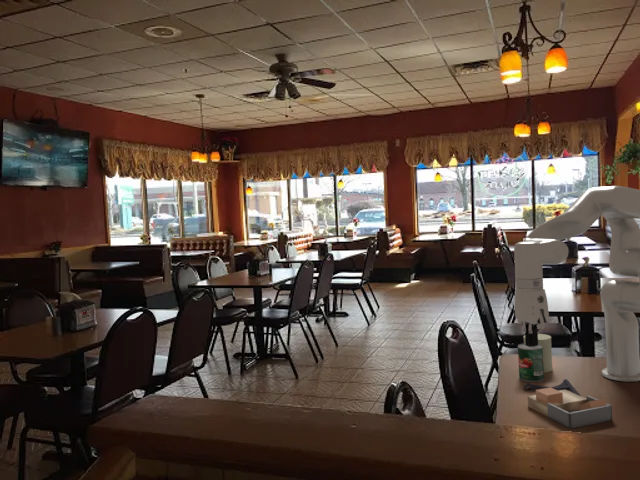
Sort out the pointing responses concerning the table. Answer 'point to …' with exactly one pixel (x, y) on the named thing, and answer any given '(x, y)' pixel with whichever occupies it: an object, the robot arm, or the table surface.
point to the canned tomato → (531, 363)
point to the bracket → (563, 386)
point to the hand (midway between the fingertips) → (531, 345)
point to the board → (568, 404)
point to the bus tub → (580, 415)
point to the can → (545, 351)
